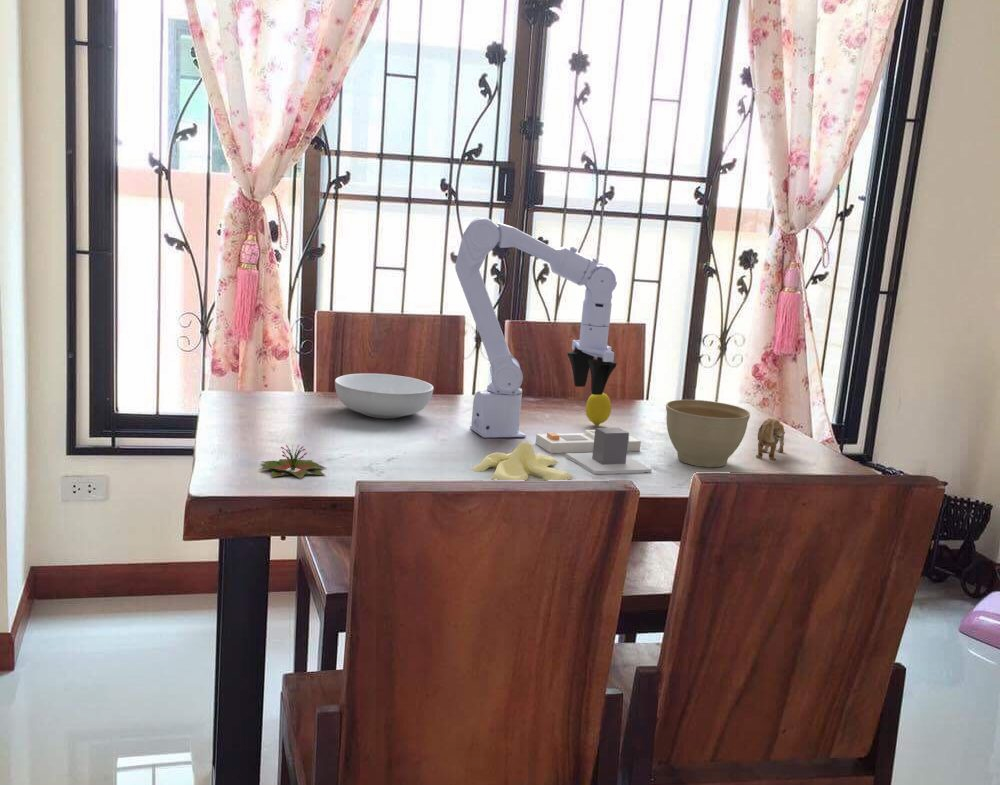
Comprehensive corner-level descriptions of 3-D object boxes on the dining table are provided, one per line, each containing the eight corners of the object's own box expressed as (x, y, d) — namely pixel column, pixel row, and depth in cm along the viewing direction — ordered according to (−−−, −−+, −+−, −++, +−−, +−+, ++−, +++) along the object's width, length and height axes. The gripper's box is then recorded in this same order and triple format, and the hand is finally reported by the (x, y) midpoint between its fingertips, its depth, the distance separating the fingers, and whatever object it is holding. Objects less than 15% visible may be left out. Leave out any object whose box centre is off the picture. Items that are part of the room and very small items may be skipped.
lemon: (607, 430, 219) (611, 394, 217) (582, 427, 220) (586, 391, 218) (610, 424, 224) (614, 389, 223) (585, 421, 225) (589, 386, 224)
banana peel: (546, 457, 194) (549, 426, 193) (593, 486, 178) (597, 452, 177) (438, 461, 185) (440, 428, 184) (478, 492, 169) (481, 456, 167)
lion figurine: (780, 465, 201) (786, 422, 200) (753, 461, 203) (759, 418, 201) (784, 450, 215) (790, 409, 213) (759, 446, 217) (764, 405, 215)
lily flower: (318, 461, 178) (320, 436, 177) (336, 481, 167) (338, 454, 166) (249, 463, 173) (251, 437, 172) (264, 484, 162) (265, 456, 161)
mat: (594, 474, 183) (594, 471, 183) (565, 456, 194) (565, 453, 194) (651, 472, 188) (651, 469, 188) (619, 454, 199) (620, 451, 199)
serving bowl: (427, 429, 206) (429, 396, 205) (325, 420, 206) (327, 387, 204) (434, 407, 226) (437, 377, 225) (341, 399, 226) (343, 369, 225)
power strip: (550, 453, 195) (551, 439, 195) (535, 443, 202) (536, 430, 201) (639, 450, 203) (641, 437, 203) (622, 441, 210) (624, 428, 209)
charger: (602, 464, 188) (605, 433, 187) (592, 458, 192) (595, 428, 190) (626, 463, 190) (629, 432, 189) (615, 457, 194) (618, 427, 193)
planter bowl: (685, 446, 210) (691, 395, 208) (756, 464, 200) (764, 411, 198) (644, 458, 198) (651, 404, 196) (718, 478, 188) (726, 421, 186)
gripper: (630, 330, 199) (622, 398, 202) (595, 319, 212) (589, 383, 215) (598, 329, 196) (591, 398, 199) (565, 318, 209) (559, 382, 212)
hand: (588, 390), depth 207 cm, fingers open, 7 cm apart
